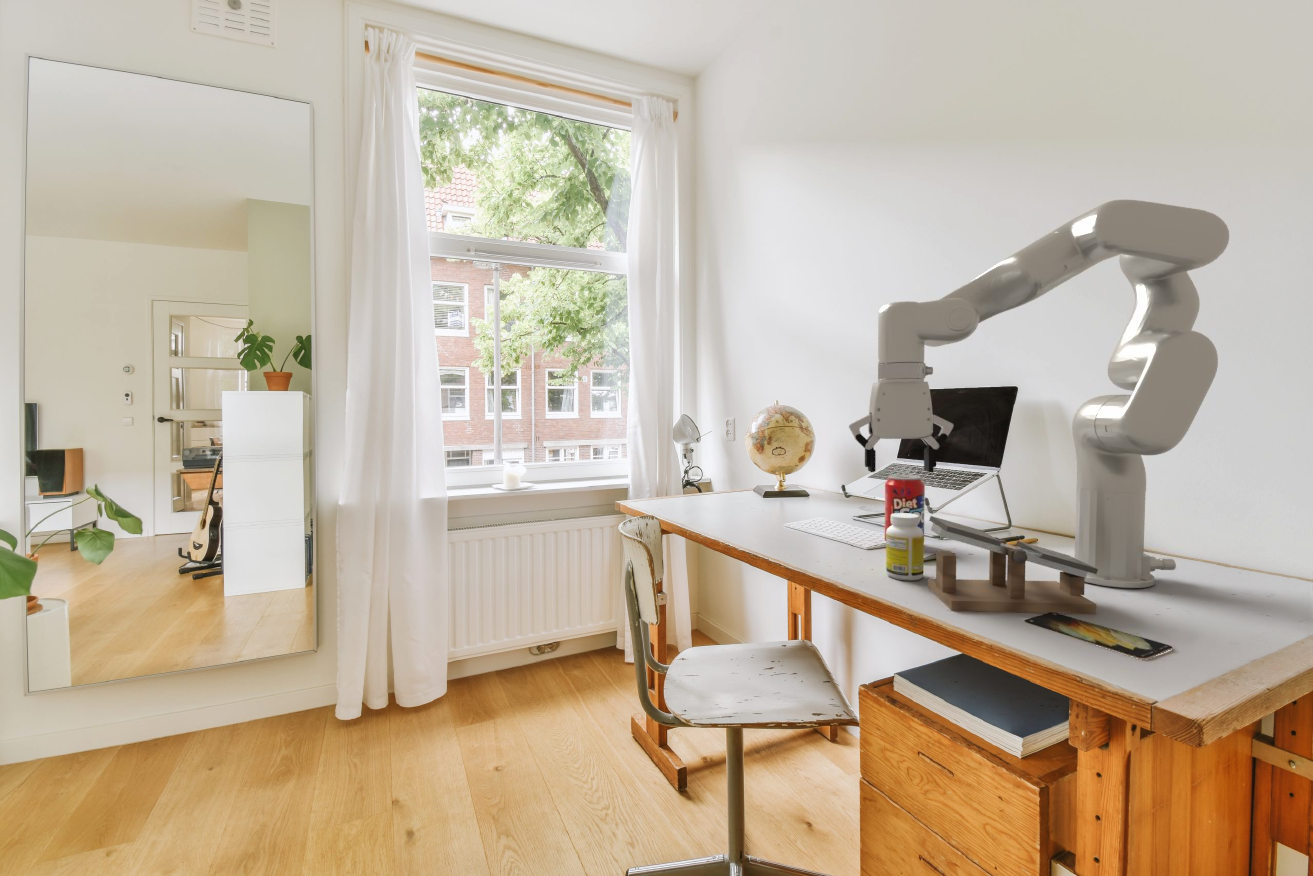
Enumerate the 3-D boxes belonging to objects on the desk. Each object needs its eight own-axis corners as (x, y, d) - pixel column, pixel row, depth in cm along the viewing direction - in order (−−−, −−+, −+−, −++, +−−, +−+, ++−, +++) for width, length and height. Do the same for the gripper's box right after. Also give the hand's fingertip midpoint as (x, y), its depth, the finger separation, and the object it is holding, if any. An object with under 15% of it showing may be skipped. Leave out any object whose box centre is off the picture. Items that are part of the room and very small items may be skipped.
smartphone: (1051, 611, 89) (1175, 646, 76) (1051, 615, 89) (1175, 651, 76) (1021, 620, 86) (1144, 658, 72) (1021, 624, 86) (1144, 664, 72)
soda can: (896, 539, 136) (896, 473, 135) (930, 545, 129) (931, 476, 128) (877, 545, 131) (877, 476, 130) (912, 552, 124) (913, 479, 124)
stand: (1059, 590, 99) (1060, 536, 98) (1099, 614, 88) (1101, 553, 87) (927, 587, 101) (928, 535, 101) (951, 610, 91) (952, 551, 90)
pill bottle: (916, 571, 111) (917, 511, 110) (928, 581, 105) (929, 518, 104) (881, 571, 112) (882, 511, 111) (891, 581, 105) (892, 518, 105)
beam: (1064, 566, 97) (1068, 555, 97) (1093, 582, 89) (1098, 569, 89) (926, 527, 99) (930, 515, 99) (943, 538, 91) (947, 526, 91)
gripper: (946, 373, 108) (944, 468, 110) (846, 376, 111) (845, 468, 112) (960, 372, 101) (959, 474, 102) (853, 374, 104) (852, 474, 105)
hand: (899, 471), depth 107 cm, fingers open, 9 cm apart
